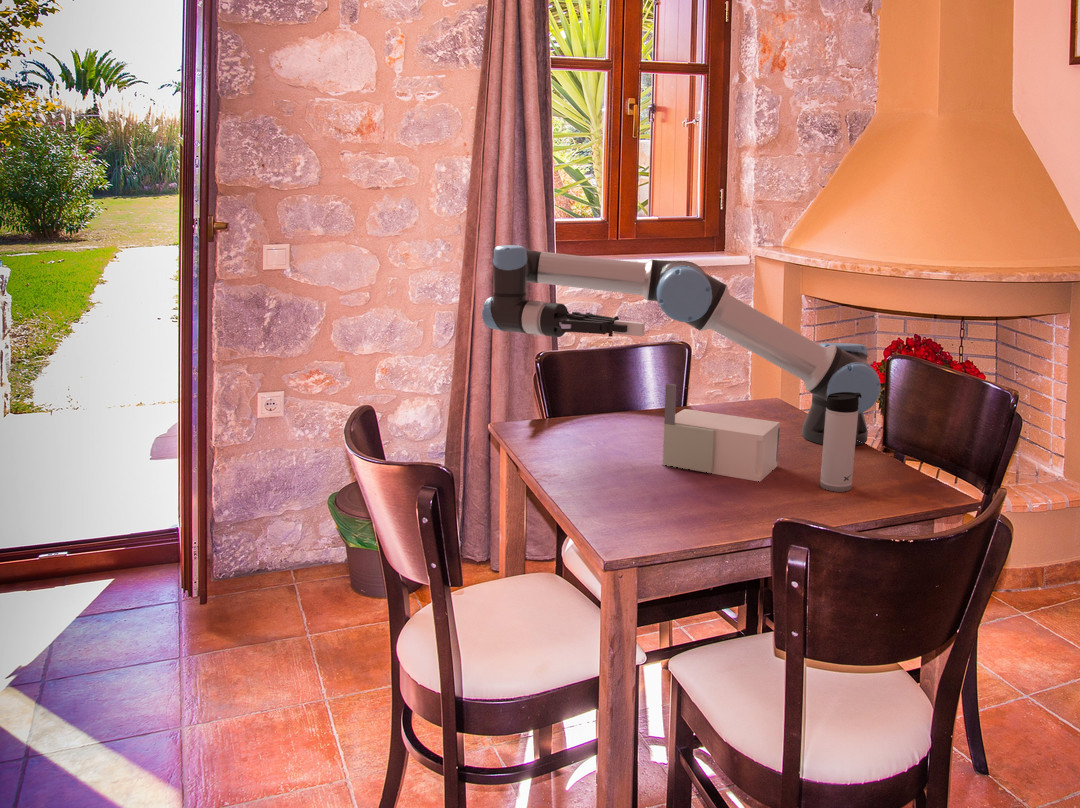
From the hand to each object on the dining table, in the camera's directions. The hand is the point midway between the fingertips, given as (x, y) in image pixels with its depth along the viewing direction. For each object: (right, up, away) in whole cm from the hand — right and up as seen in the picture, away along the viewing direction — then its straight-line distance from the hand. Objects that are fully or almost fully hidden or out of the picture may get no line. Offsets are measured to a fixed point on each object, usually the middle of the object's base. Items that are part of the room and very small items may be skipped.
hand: (643, 329), depth 213 cm
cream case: (+17, -29, +6) cm, 35 cm away
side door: (+10, -30, +2) cm, 31 cm away
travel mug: (+39, -33, -8) cm, 52 cm away
